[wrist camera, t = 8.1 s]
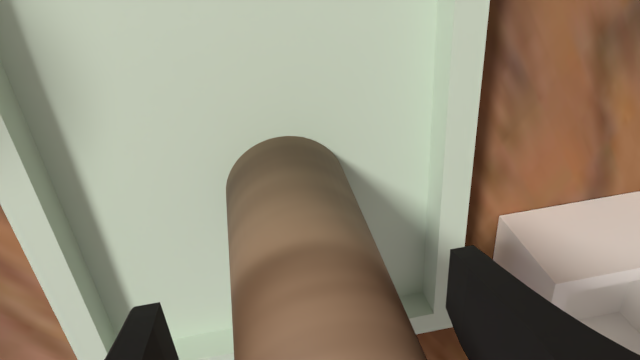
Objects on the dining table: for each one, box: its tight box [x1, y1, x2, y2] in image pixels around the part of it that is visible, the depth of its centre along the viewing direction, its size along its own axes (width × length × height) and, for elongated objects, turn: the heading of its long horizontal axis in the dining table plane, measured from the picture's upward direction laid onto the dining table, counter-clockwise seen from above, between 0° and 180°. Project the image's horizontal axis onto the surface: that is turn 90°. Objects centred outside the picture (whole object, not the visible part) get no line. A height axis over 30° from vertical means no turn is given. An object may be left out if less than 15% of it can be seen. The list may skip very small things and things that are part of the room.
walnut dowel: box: [226, 136, 427, 360], centre depth 12 cm, size 4×4×11 cm
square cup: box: [493, 191, 640, 355], centre depth 21 cm, size 7×7×4 cm
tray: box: [0, 0, 490, 360], centre depth 15 cm, size 20×14×2 cm
